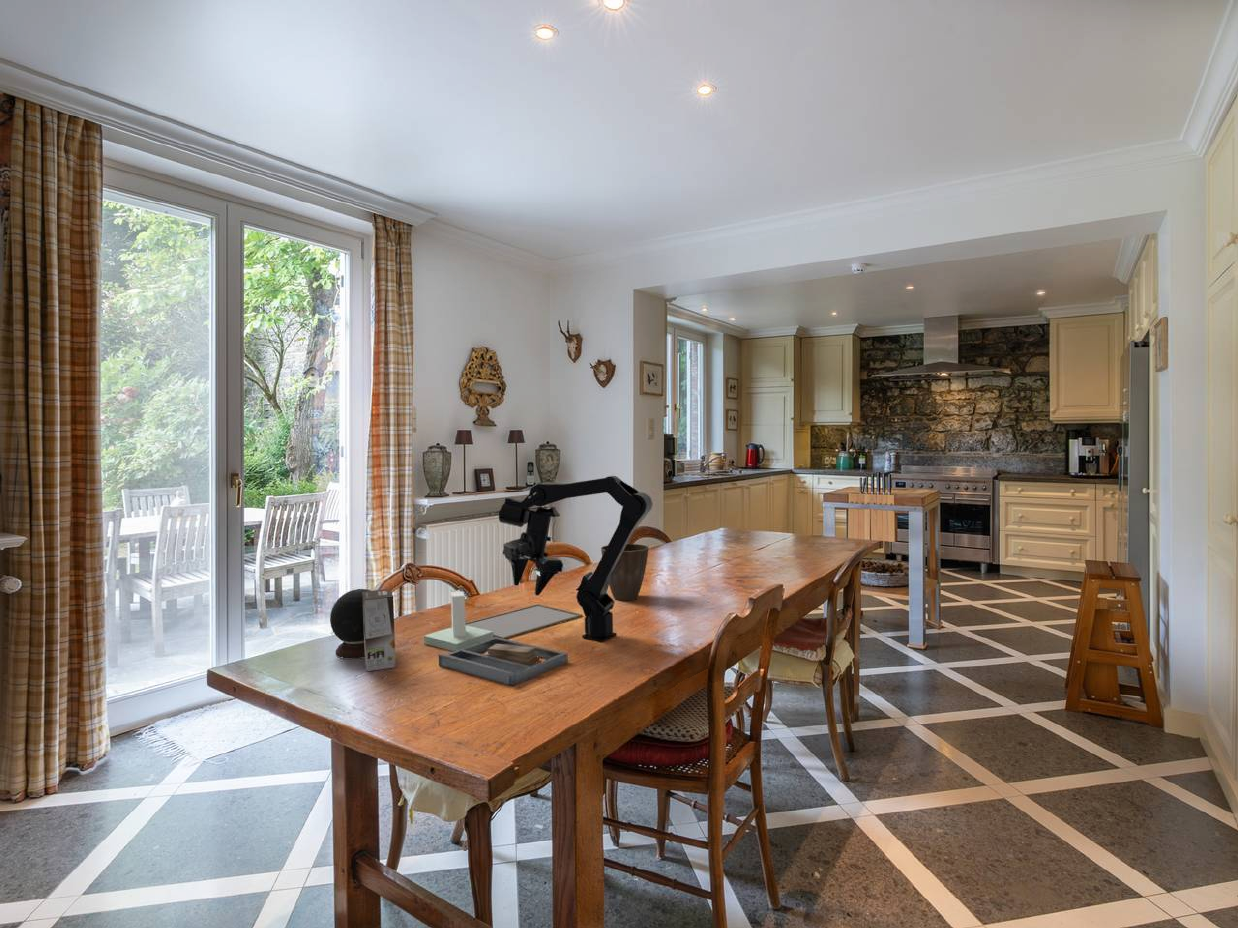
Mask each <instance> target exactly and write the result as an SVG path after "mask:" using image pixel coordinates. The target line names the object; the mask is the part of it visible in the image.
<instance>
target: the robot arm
mask: <svg viewBox="0 0 1238 928" xmlns="http://www.w3.org/2000/svg"><path fill="white" fill-rule="evenodd" d="M604 493H606V494H608V495H610V496H611V497H612V499H614V501H615V502H616V503H618V505H620V506H621V511H620V516H619V522H618V524H617V527H616V529H615V531H614V533H613V535H612V537H611V539H610V540H609V543H608V546H607V545H606V546H607V548H606V550H605V552H604V554H603V556H602V555H601V557H600V560H599V562H598V564H597V565H596V568H595V569H594V571H593V572H592V571H589V572H588V573H587V574H584V575H583V576H582V579H581V581H580V584H579V586H578V587H577V588H576V589H575V591H577V593H576V596H575V597H576V600H577V603H578V604H579V606H580V607H581V608H582V611H583V614H584V616H585V617H584V633H585V634H582V635H581V637H582V638H584V639H589V640H594V641H598V642H604V641H606V640H609V639H611V638H614V637H616V636H617V632H614V622H613V621H614V620H613V618H614V617H613V615H614V614H613V612H612V611H611V610H613V608H614V605H615V599H614V598H612V597H611V596H610V594H609V593H608V588H609V587H610V586H609V580H610V576H611V574H612V572H613V570H614V568H615V566H616V564H617V562H618V560H619V558H620V556H621V555H622V553H623V551H624V549H625V547H626V545H627V544H629V541H630V539H631V537H632V536H633V533H634V531H635V530H636V528H637V527H638V526H639V525H640V524H641V523H642V522H643V521H644V519H645V518H646V517H647V515H648V514H649V512H651V510H652V508H653V500H652V498H651V497H650V495H649V494H648V493H646V492H643V491H642V492H641V491H638V490H637V489H636V488H635V487H633V486H631V485H629V484H627V483H626V482H625V481H623V480H622V479H621V478H619V477H618V476H616V475H609V476H606V477H602V478H596V479H589V480H581V481H576V482H571V483H567V482H566V483H563V482H542V483H537V484H534V485H533V486H531V488H530V490H529V492H528V495H527V496H526V497H525V498H523V500H520V499H519V500H518V499H515V498H513V497H506V498H504V503H502V505H501V508H500V510H499V512H498V520H499V522H500V523H501V524H506V525H510V526H514V527H520V528H523V526H524V525H526V531H525V532H523V531H522V533H521V534H520V537H519V538H517V539H513V540H510V541H508V542H505V543H503V551H502V555H504V557H505V559H507V561H508V562H509V563H510V565H511V566H510V567H511V572H512V579H513V585H514V586H519V585H520V582H521V580H522V577H523V574H524V573H525V570H526V567H527V565H528V562H529V561H531V562H533V563H534V565H535V567H536V568H534V569H533V570H534V573H535V574H536V578H535V579H536V581H535V589H534V595H535V596H540V595H541V593H542V592H543V590H544V589H545V587H546V586H547V585H548V584H549V582H550V581H551V579H552V578H553V577H554V576H555V575H556V574H559V573H561V572H562V571H563V567H564V563H563V561H562V560H560V559H559V558H556V557H552V556H551V557H550V556H549V552H547V551H546V547H547V542H551V541H552V538H551V536H549V531H550V526H551V521H552V518H558V517H560V516H561V514H560V513H559V512H558V510H557V509H556V507H555V506H552V507H550V508H547V507H544V506H548V505H551V504H555V503H557V502H561V501H563V500H565V499H570V498H577V497H583V496H590V495H596V494H597V495H599V494H604ZM532 507H537V508H536V509H535V508H532Z"/></svg>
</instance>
